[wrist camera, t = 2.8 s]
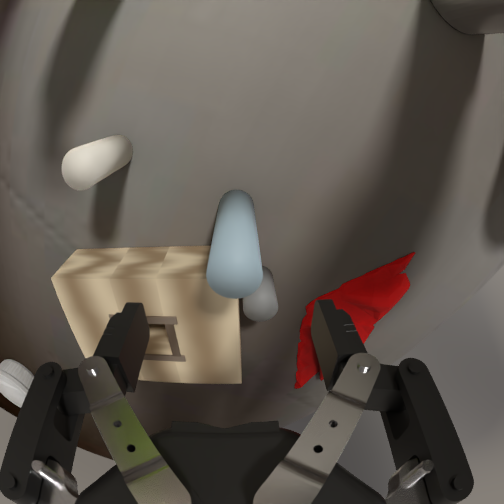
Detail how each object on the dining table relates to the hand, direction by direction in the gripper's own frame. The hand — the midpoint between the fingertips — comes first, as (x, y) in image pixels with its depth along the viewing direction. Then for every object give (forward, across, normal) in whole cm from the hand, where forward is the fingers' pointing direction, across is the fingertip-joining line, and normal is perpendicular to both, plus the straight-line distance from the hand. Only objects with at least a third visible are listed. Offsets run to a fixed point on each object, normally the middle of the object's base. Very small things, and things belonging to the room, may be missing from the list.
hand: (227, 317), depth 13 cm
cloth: (+17, -14, +16) cm, 27 cm away
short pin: (+16, -2, +8) cm, 18 cm away
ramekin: (+17, +43, +31) cm, 56 cm away
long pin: (+16, 0, 0) cm, 16 cm away
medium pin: (+16, +11, -6) cm, 20 cm away
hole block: (+16, +8, +11) cm, 21 cm away
